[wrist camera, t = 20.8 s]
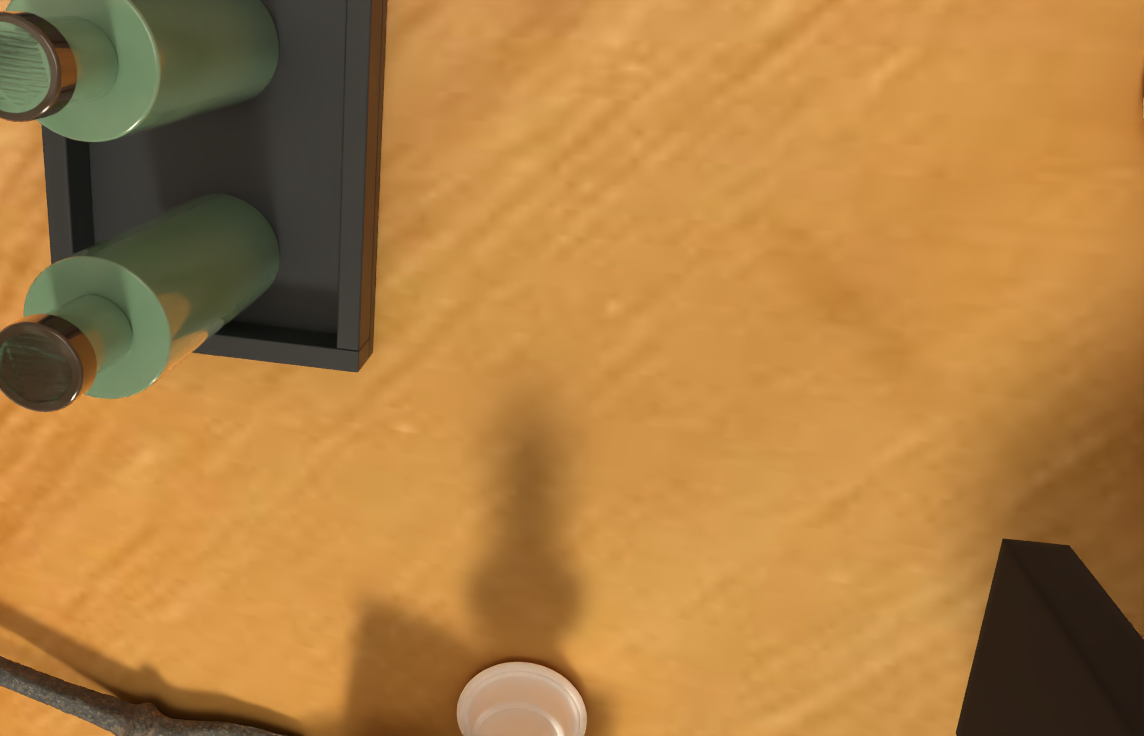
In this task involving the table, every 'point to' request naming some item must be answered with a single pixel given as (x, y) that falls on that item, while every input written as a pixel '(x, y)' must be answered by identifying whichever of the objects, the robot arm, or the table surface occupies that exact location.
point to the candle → (520, 703)
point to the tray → (263, 184)
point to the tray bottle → (130, 62)
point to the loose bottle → (136, 303)
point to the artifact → (110, 707)
